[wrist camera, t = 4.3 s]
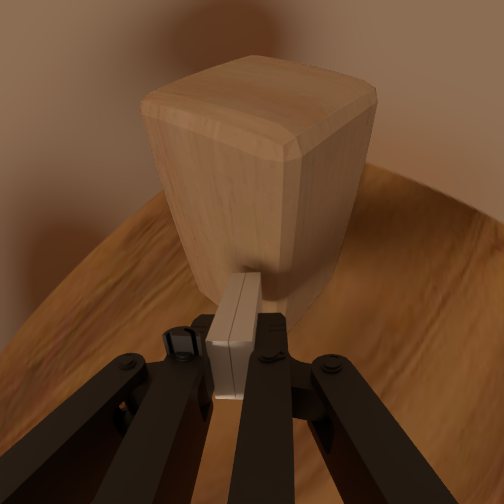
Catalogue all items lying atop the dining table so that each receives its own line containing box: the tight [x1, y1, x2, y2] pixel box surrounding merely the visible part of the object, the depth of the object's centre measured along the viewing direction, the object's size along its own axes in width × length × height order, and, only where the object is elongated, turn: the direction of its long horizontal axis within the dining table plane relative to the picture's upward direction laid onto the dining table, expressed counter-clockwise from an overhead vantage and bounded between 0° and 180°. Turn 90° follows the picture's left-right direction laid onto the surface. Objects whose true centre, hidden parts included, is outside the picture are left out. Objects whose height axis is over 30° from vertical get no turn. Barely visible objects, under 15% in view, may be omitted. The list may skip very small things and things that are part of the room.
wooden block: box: [141, 55, 377, 334], centre depth 21 cm, size 10×10×20 cm
